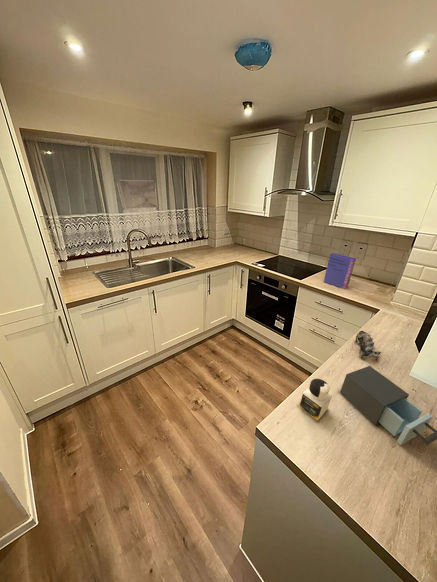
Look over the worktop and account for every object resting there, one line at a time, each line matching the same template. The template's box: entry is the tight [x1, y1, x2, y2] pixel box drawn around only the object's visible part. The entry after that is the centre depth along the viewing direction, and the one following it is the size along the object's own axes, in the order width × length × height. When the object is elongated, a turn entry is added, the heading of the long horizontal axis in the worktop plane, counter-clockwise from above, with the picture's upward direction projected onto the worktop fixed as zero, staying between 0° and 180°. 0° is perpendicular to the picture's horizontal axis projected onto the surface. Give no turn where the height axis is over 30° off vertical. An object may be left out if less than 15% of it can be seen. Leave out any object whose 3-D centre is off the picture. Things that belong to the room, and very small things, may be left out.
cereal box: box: [323, 252, 357, 290], centre depth 183 cm, size 17×5×24 cm, turn 42°
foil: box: [355, 330, 382, 361], centre depth 113 cm, size 12×11×15 cm
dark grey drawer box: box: [339, 365, 410, 426], centre depth 85 cm, size 15×13×10 cm
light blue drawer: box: [378, 398, 437, 446], centre depth 76 cm, size 18×11×8 cm, turn 23°
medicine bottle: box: [299, 378, 332, 421], centre depth 82 cm, size 7×7×12 cm
